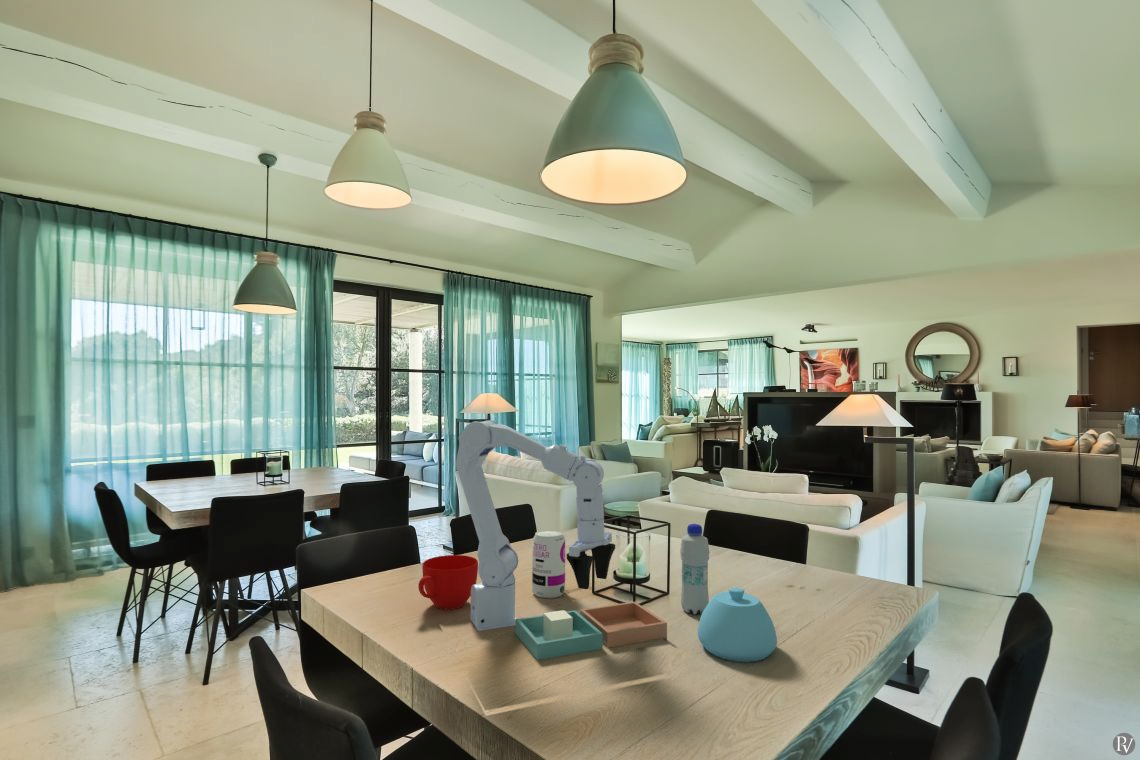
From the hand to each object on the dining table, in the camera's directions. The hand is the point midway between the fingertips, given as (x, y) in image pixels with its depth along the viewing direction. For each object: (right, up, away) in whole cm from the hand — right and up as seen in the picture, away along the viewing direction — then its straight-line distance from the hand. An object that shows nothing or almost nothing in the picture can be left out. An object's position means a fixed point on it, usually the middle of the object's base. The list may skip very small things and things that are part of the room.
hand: (592, 583), depth 125 cm
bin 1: (-7, -10, -7) cm, 14 cm away
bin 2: (+6, -10, -1) cm, 12 cm away
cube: (-7, -9, -7) cm, 13 cm away
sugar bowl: (+28, -10, -8) cm, 31 cm away
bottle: (+24, -11, +12) cm, 29 cm away
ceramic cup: (-34, -11, +13) cm, 38 cm away
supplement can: (-10, -11, +23) cm, 28 cm away
